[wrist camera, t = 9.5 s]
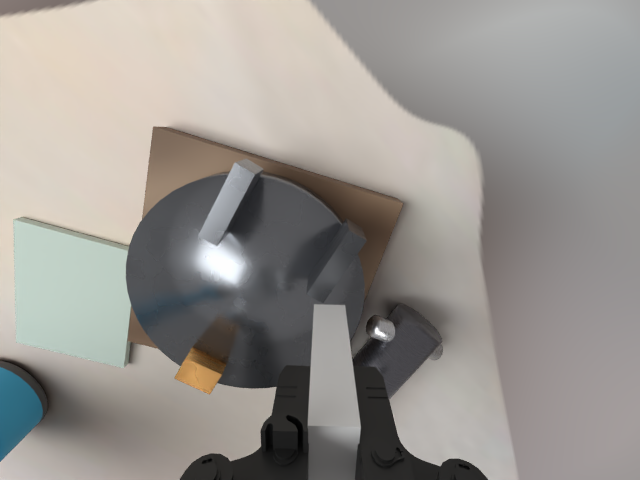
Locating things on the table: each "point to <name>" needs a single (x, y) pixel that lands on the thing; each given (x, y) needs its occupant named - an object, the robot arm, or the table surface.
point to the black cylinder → (399, 346)
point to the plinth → (210, 158)
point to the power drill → (18, 405)
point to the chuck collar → (241, 275)
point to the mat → (71, 293)
